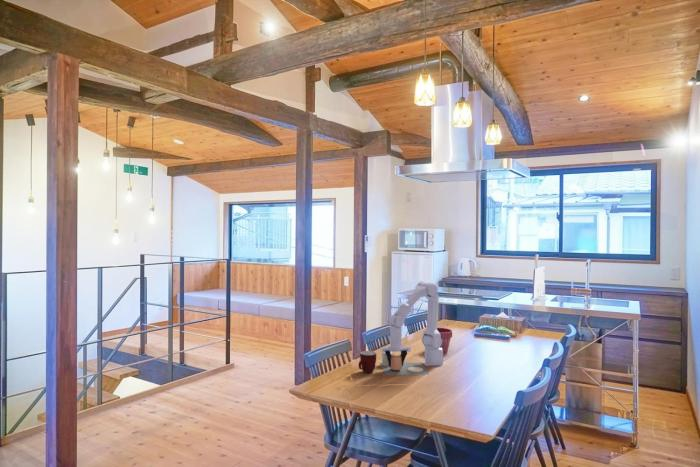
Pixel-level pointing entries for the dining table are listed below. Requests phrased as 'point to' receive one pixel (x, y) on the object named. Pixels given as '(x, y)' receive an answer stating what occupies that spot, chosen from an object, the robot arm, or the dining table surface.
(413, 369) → the pad
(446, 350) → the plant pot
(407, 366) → the mat
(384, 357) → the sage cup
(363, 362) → the mug
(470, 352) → the dining table surface
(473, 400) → the dining table surface
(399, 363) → the tan piece
